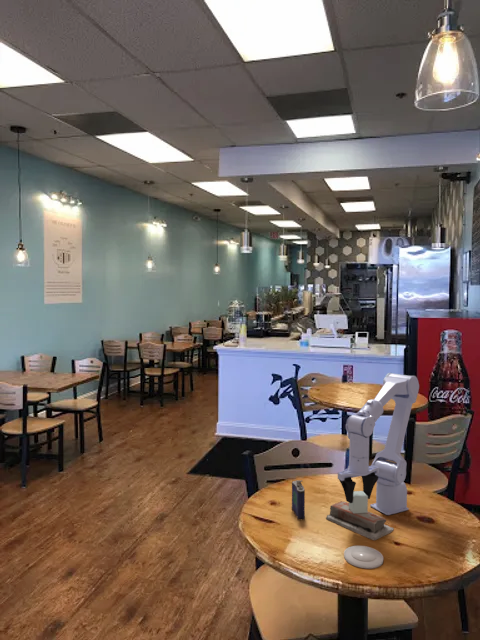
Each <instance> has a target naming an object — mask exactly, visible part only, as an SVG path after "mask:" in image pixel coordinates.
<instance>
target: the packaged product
mask: <svg viewBox="0 0 480 640" xmlns="http://www.w3.org/2000/svg"><path fill="white" fill-rule="evenodd" d="M329 510H330V511H329V514H327V515H326V518H325V519H326V520H328V521H330V522H332V523H334V524H337V525H338V526H340V527H342V528H345V529H346V530H347V529H348V530H349V531H351V532H354V533H356V534H358V535H361V536H363V538H364V537H365V538H367V539H369V540H372V541H377V540H378V539H380V538H383V537H384V536H386V535H389V534H391V533H392V532H393V531H394V529H395V528H394V527H391V526H389V525H386V524H385V523H386V521H387V519H386V518H384V517H383V516H381V515H378V514H376V513H373V512H371V511H368V512H367V513H353V512H352V511H351V510H350V509H349V502H347V501H341V500H340V501H339V502H336V503H334V504H332V505H330V508H329Z"/></svg>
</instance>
